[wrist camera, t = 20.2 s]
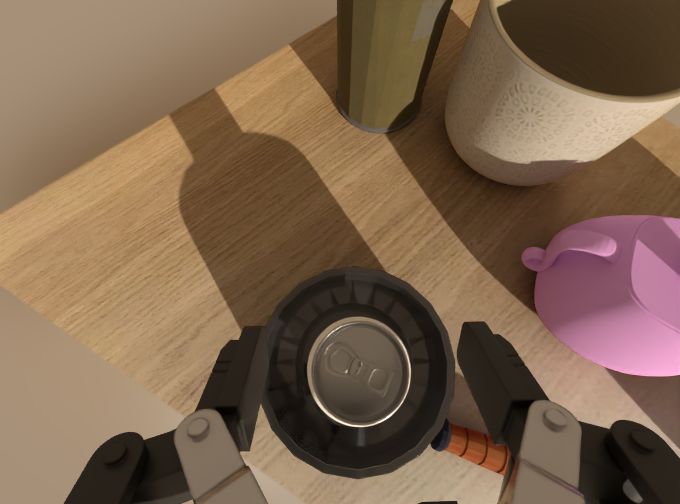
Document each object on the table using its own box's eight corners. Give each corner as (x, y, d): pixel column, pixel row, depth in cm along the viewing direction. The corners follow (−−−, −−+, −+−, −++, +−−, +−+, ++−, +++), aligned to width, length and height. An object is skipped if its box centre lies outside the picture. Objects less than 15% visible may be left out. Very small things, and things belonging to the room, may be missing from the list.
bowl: (426, 465, 28) (449, 495, 22) (256, 435, 28) (235, 457, 22) (437, 293, 32) (459, 281, 26) (289, 271, 33) (279, 255, 27)
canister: (387, 149, 37) (438, -66, 18) (318, 103, 39) (298, -136, 20) (439, 90, 39) (533, -154, 20) (372, 50, 41) (401, -208, 22)
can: (336, 315, 31) (335, 294, 19) (398, 345, 30) (434, 344, 18) (305, 379, 29) (282, 398, 18) (369, 413, 28) (389, 458, 17)
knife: (704, 561, 27) (717, 501, 27) (744, 591, 24) (757, 524, 25) (420, 452, 28) (437, 396, 29) (428, 469, 25) (447, 407, 26)
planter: (587, 107, 39) (736, -39, 24) (560, 227, 34) (725, 137, 19) (453, 65, 41) (516, -93, 26) (410, 174, 36) (459, 55, 21)
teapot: (486, 322, 31) (569, 307, 20) (523, 209, 35) (611, 142, 23) (699, 418, 29) (932, 464, 17) (715, 287, 32) (918, 253, 21)
